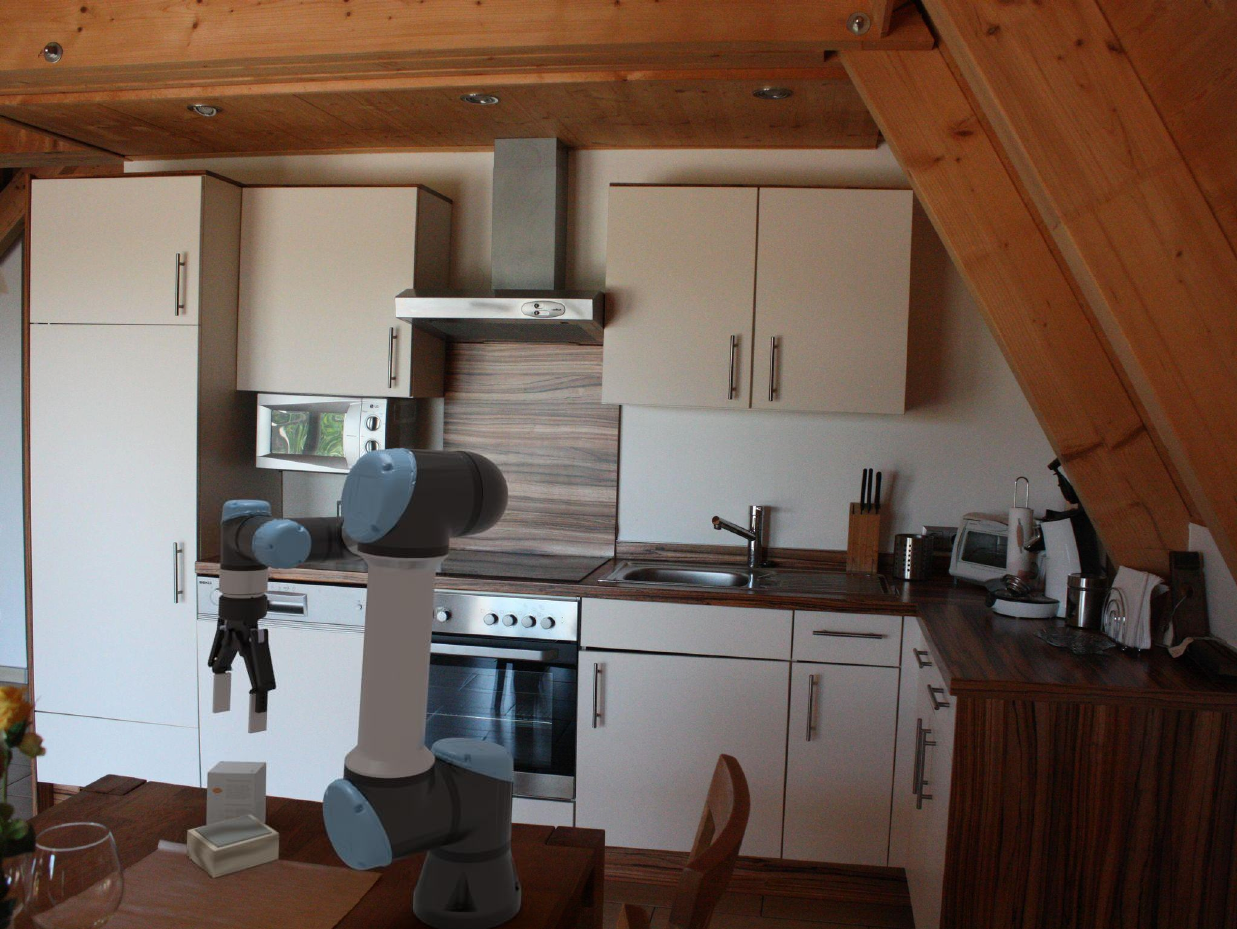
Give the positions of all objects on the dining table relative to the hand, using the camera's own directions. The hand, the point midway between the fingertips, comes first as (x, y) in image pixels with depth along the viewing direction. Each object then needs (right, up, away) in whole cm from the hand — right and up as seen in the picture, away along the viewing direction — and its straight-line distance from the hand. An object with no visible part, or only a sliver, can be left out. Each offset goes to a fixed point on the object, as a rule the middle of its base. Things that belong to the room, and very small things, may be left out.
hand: (238, 721), depth 160 cm
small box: (-1, -18, 0) cm, 18 cm away
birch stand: (+3, -18, -10) cm, 21 cm away
